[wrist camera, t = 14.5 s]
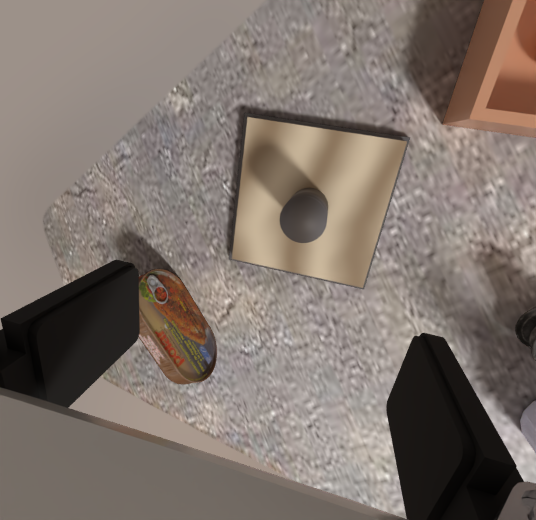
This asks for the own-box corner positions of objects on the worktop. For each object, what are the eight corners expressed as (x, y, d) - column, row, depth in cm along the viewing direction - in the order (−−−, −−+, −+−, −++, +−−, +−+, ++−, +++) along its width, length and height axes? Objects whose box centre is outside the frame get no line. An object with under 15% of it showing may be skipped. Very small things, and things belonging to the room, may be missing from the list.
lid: (404, 141, 28) (425, 140, 22) (362, 283, 34) (368, 316, 27) (250, 117, 30) (227, 110, 24) (234, 255, 36) (212, 279, 29)
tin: (225, 351, 42) (200, 398, 34) (206, 357, 43) (178, 403, 35) (169, 258, 38) (127, 286, 31) (150, 266, 39) (106, 295, 32)
